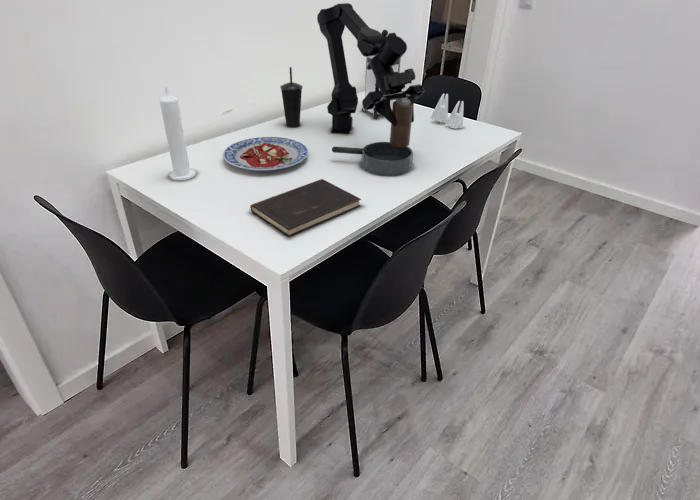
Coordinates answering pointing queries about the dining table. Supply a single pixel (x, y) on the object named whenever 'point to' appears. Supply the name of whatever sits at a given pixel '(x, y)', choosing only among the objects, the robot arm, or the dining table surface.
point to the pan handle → (348, 150)
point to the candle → (175, 138)
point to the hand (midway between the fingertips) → (404, 123)
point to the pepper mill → (401, 122)
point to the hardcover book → (305, 207)
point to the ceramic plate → (265, 153)
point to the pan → (387, 159)
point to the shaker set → (442, 113)
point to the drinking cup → (292, 102)
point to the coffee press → (372, 81)
